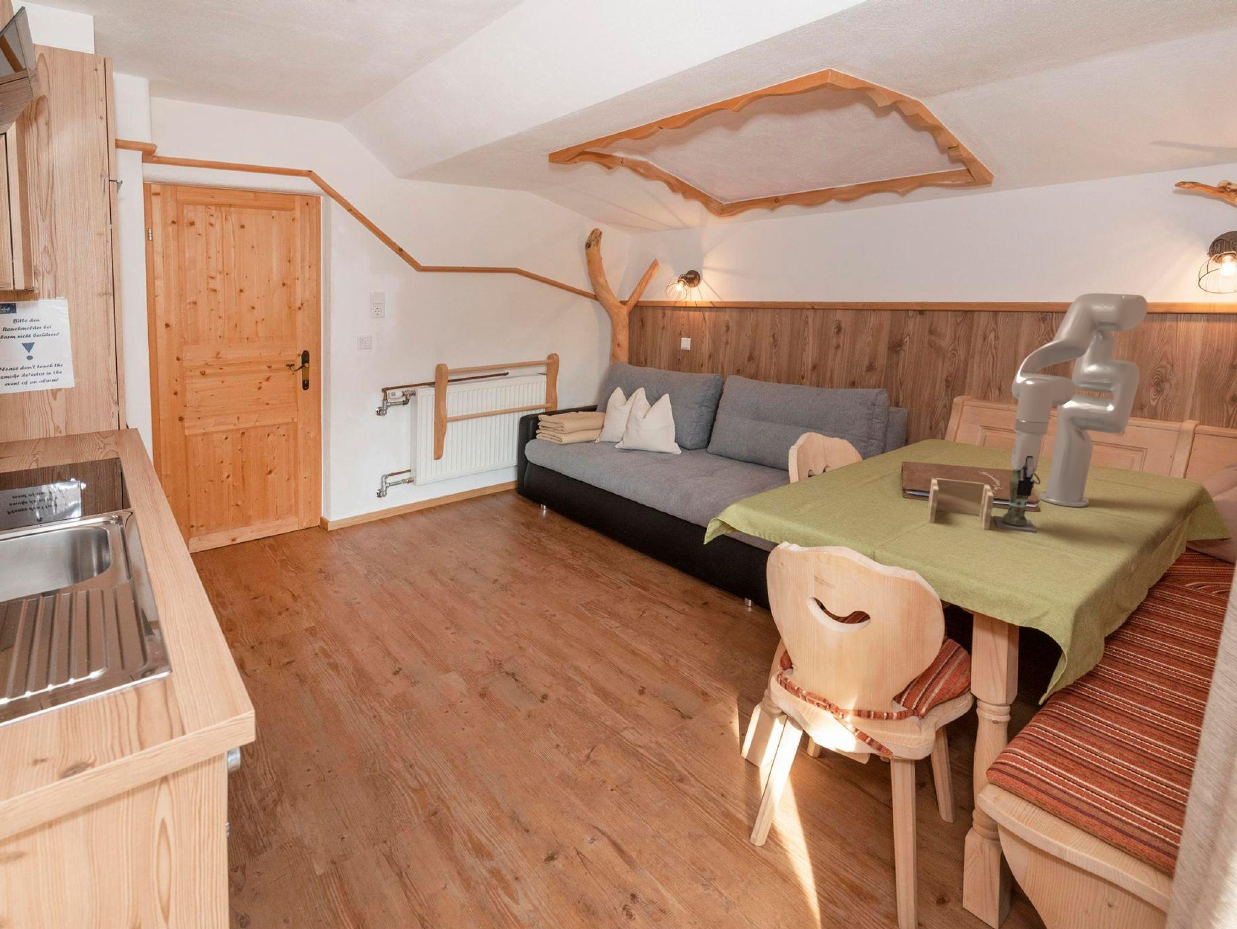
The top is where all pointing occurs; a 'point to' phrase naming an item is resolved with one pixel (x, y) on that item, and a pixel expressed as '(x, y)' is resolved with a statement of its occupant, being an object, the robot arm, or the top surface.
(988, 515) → the light wood u-shaped frame
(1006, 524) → the coaster
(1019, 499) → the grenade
